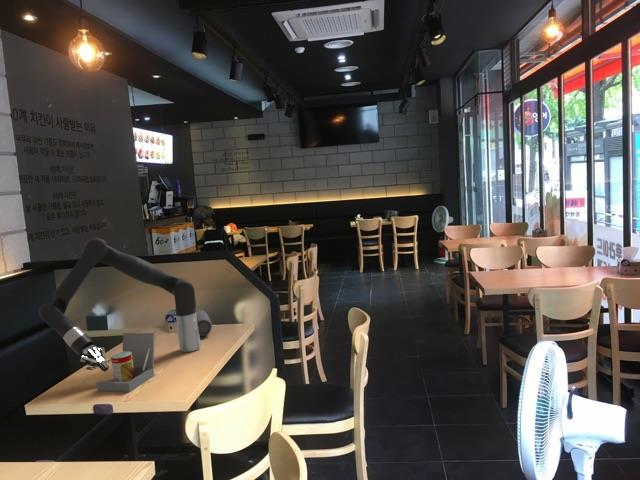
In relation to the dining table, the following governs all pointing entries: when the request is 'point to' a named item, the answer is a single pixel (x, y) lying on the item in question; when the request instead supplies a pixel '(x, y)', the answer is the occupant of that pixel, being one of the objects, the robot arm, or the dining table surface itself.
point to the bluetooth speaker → (203, 322)
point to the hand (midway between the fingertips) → (107, 369)
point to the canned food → (123, 366)
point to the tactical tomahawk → (97, 366)
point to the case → (135, 362)
